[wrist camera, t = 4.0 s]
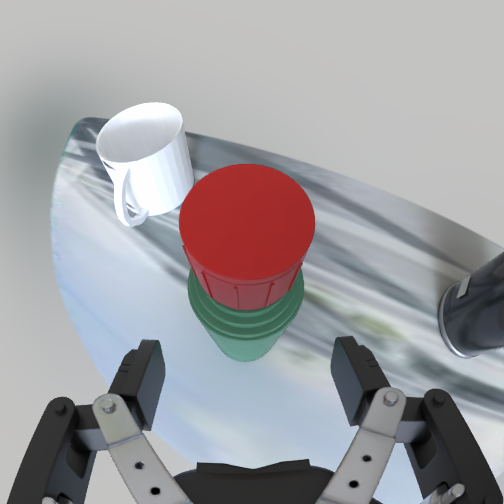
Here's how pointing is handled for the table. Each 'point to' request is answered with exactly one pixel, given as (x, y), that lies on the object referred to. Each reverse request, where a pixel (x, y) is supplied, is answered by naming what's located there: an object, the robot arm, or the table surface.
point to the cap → (246, 234)
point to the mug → (146, 160)
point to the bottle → (245, 320)
